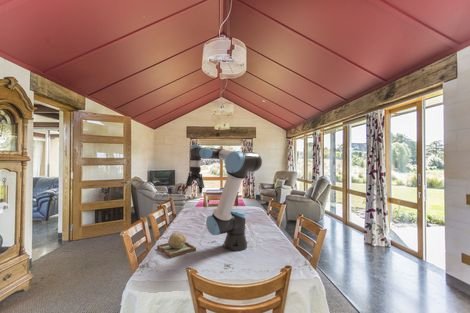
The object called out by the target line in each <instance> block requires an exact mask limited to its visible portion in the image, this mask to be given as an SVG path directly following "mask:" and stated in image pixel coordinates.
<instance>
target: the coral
mask: <svg viewBox="0 0 470 313" xmlns="http://www.w3.org/2000/svg"><path fill="white" fill-rule="evenodd" d="M186 237H187V236H185V235H184V234H182V233H180V232H176V231H173V233H172V234H170V236H169V238H168V241H167V243H168V245H169V246H170V247H172V248H174V249H180V248H181V247H183V246H184V244H185V242H187V238H186Z"/></svg>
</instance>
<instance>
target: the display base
mask: <svg viewBox="0 0 470 313" xmlns="http://www.w3.org/2000/svg"><path fill="white" fill-rule="evenodd" d="M156 249H157V250H158V251H159V252H160V253H162V254H164V255H165V256H166V257H167V258H169V259H173V258H177V257H179V256H180V257H181V256H183V255H188V254H191V253H195V252H196V251H197V247H196V246H194V245H192V244H191V243H190V242H187V241H185V244H184V246H183V247H181V248H180V249H174V248H172V247H170V246H169V245H168V242H166V243H165V242H164V243H161V244H158V245H156Z"/></svg>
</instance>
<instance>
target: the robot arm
mask: <svg viewBox="0 0 470 313" xmlns="http://www.w3.org/2000/svg"><path fill="white" fill-rule="evenodd" d="M189 156H190V157H189V158H190V161H189V172H188V175H187V178H186V182H185V185H186V186H187V196H192V184H193V182H194V181H196V183H197V186H198V187H197V198H198V199H199V198H200V199H202V196H203V195H202V194H203V189H205V182H204V179H203V174H202V173H201V172H202V169H201V168H202V167H201V166H202V159H203V160H210V159H211V160H219V161H224V169H225V170H226V174H227V177H226V179H225V181H224V182H225V183H224V185H223V189H222V193H221V195H220V199H219V201H218V204H217V207H216V208H214V209H213V210H212V214H211V215H209V216H207V217H206V220H205V224H206V229H207V231H208V232H209V234H210V235H212V236H219V235H222V234H223V235H224V234H226V236H225V239H224V241H223V247H224V249H225V250H226V249H227V250H229V251H244V250H246V249H247V248H248V242H247V238H246V213H245V211H242V210H239V209H233V208H234V205H235V201H236V198H237V196H238V193H239V189H240V188H241V187H240V186H241V183H242V181H243V180H245V179H246V177H247V175H248V173H254V172H257V171H259V169H261V167H262V164H263V160H262V157H261V155H260V154H259V153H257V152H253V151H241V150H236V151H233V150H229V149H225V148H215V147H214V148H213V147H202V145H201V144H191V146H190V155H189Z"/></svg>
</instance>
